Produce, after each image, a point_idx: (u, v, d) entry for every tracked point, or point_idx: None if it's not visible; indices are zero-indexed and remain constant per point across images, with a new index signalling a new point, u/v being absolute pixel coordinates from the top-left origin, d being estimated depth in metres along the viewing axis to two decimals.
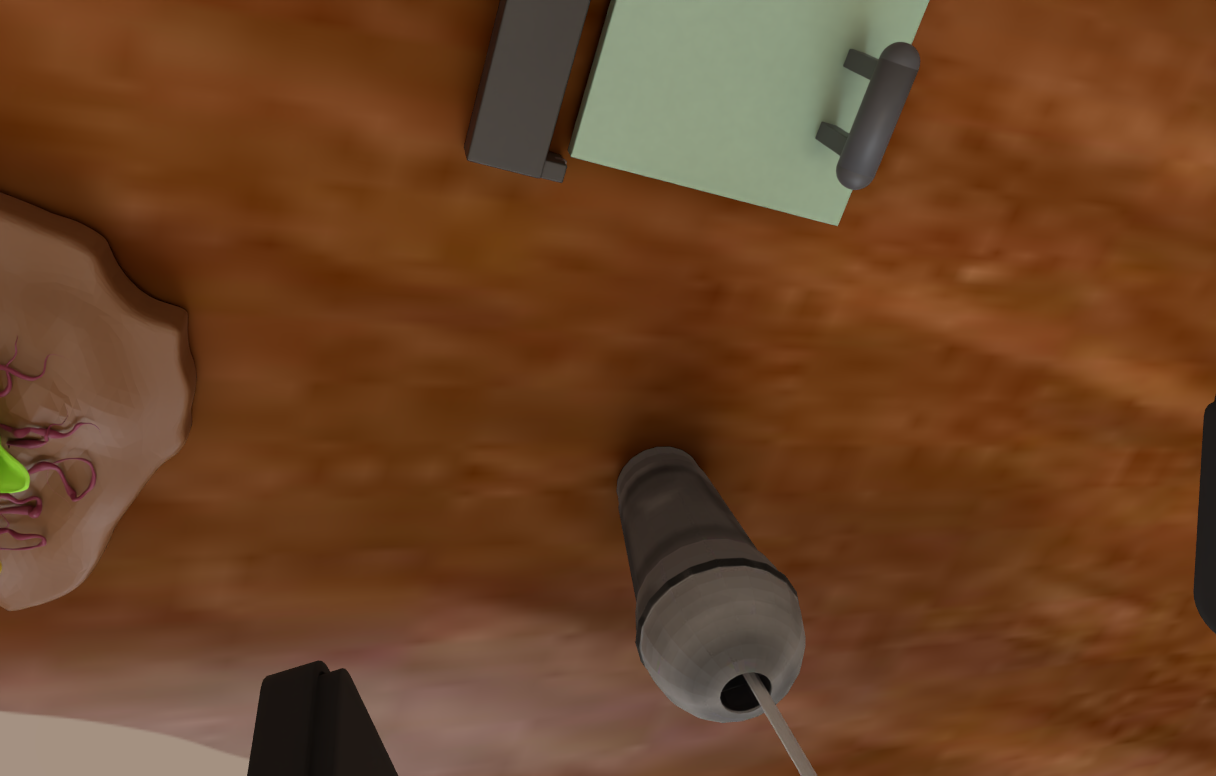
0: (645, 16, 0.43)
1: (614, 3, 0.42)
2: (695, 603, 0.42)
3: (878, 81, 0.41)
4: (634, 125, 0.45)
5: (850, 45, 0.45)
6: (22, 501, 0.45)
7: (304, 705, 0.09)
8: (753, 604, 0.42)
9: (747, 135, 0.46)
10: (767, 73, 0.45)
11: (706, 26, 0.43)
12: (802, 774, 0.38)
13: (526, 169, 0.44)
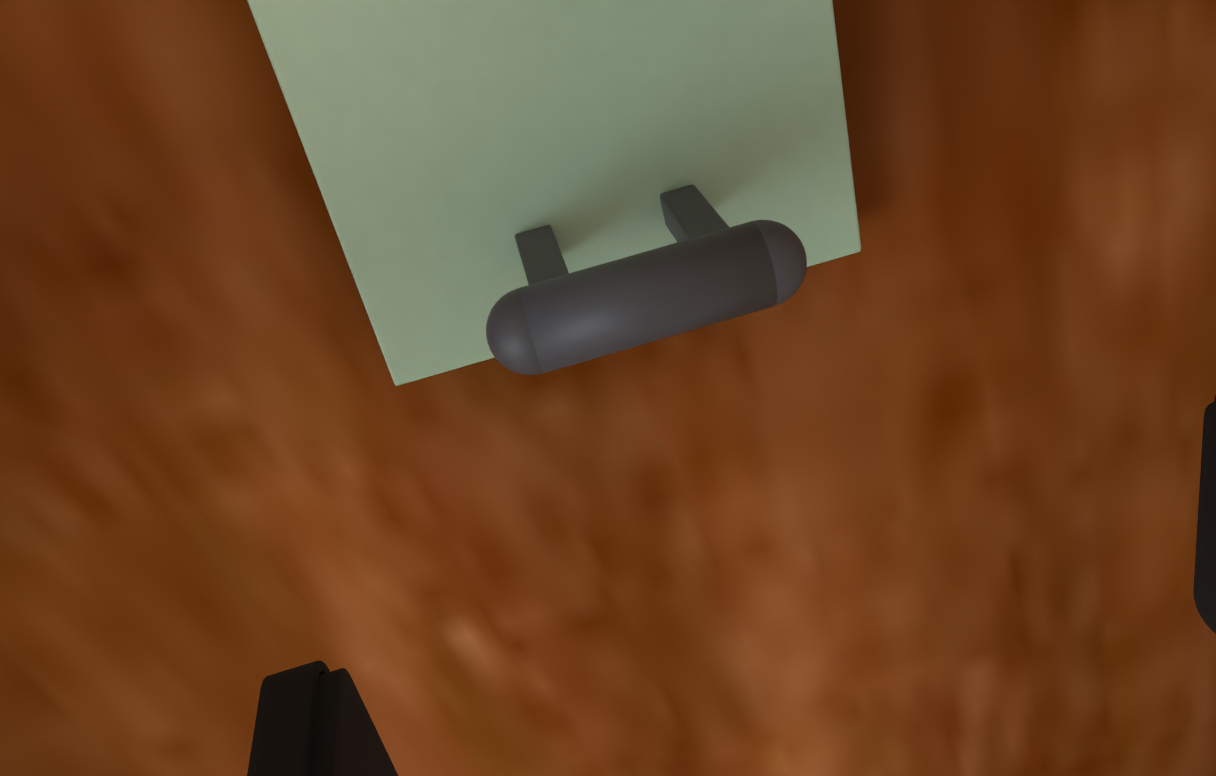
0: None
1: None
2: None
3: (716, 248, 0.18)
4: None
5: (699, 181, 0.22)
6: None
7: (304, 705, 0.09)
8: None
9: (441, 102, 0.21)
10: (571, 61, 0.21)
11: None
12: None
13: None
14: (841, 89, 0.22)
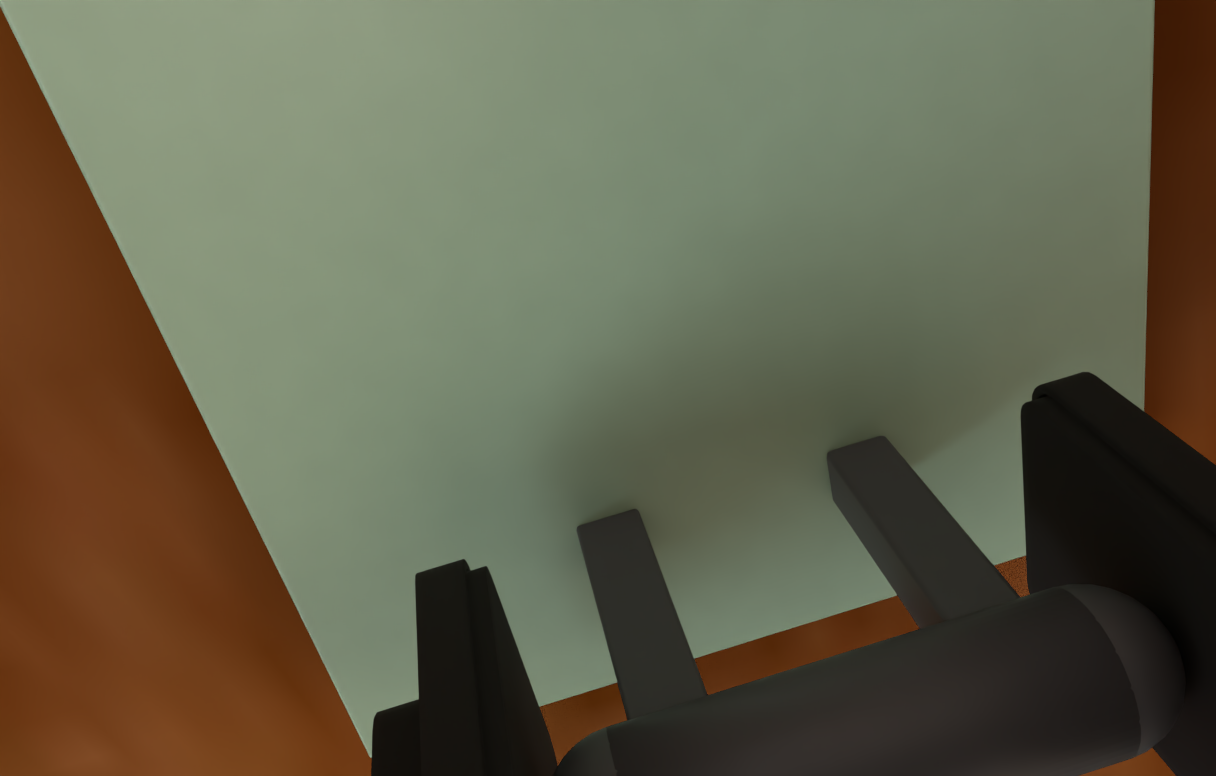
0: None
1: None
2: None
3: (1019, 671, 0.09)
4: None
5: (893, 430, 0.13)
6: None
7: (458, 594, 0.10)
8: None
9: (450, 321, 0.11)
10: (686, 245, 0.11)
11: None
12: None
13: None
14: (1145, 275, 0.13)
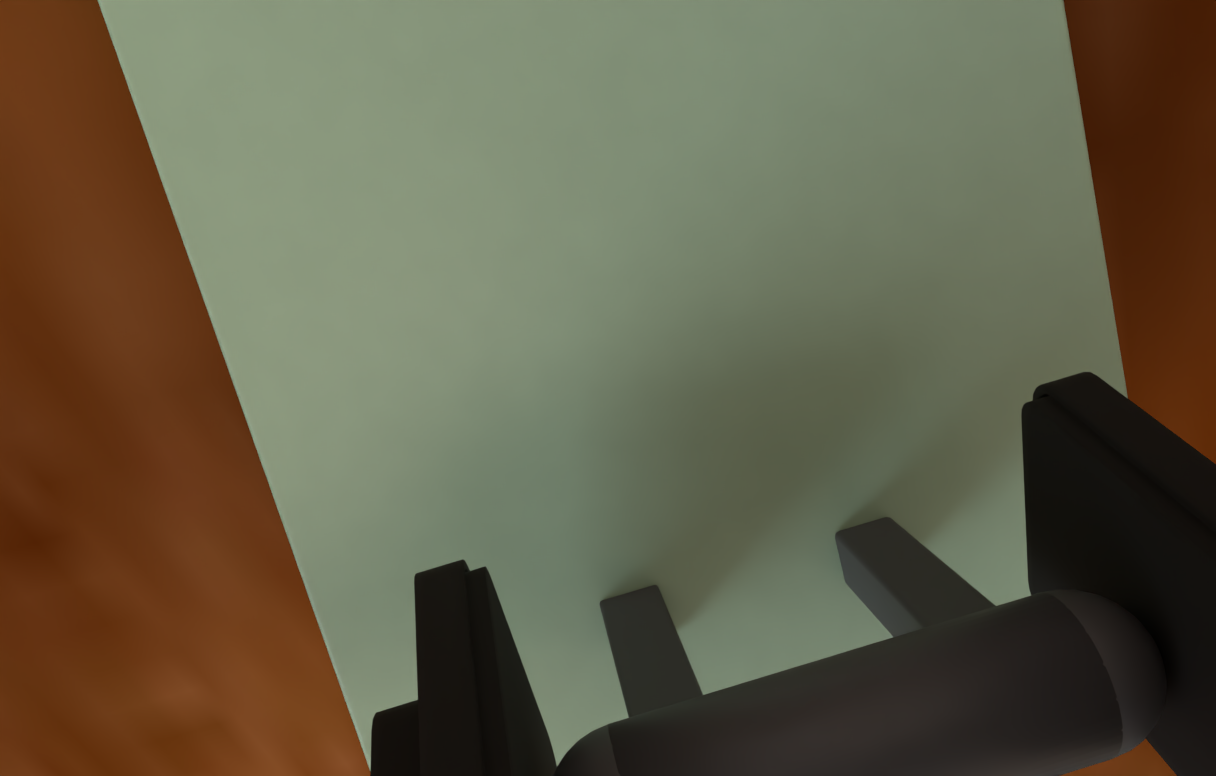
0: None
1: None
2: None
3: (993, 650, 0.09)
4: None
5: (897, 512, 0.14)
6: None
7: (458, 594, 0.10)
8: None
9: (484, 393, 0.13)
10: (691, 327, 0.13)
11: (712, 43, 0.12)
12: None
13: None
14: (1120, 364, 0.14)
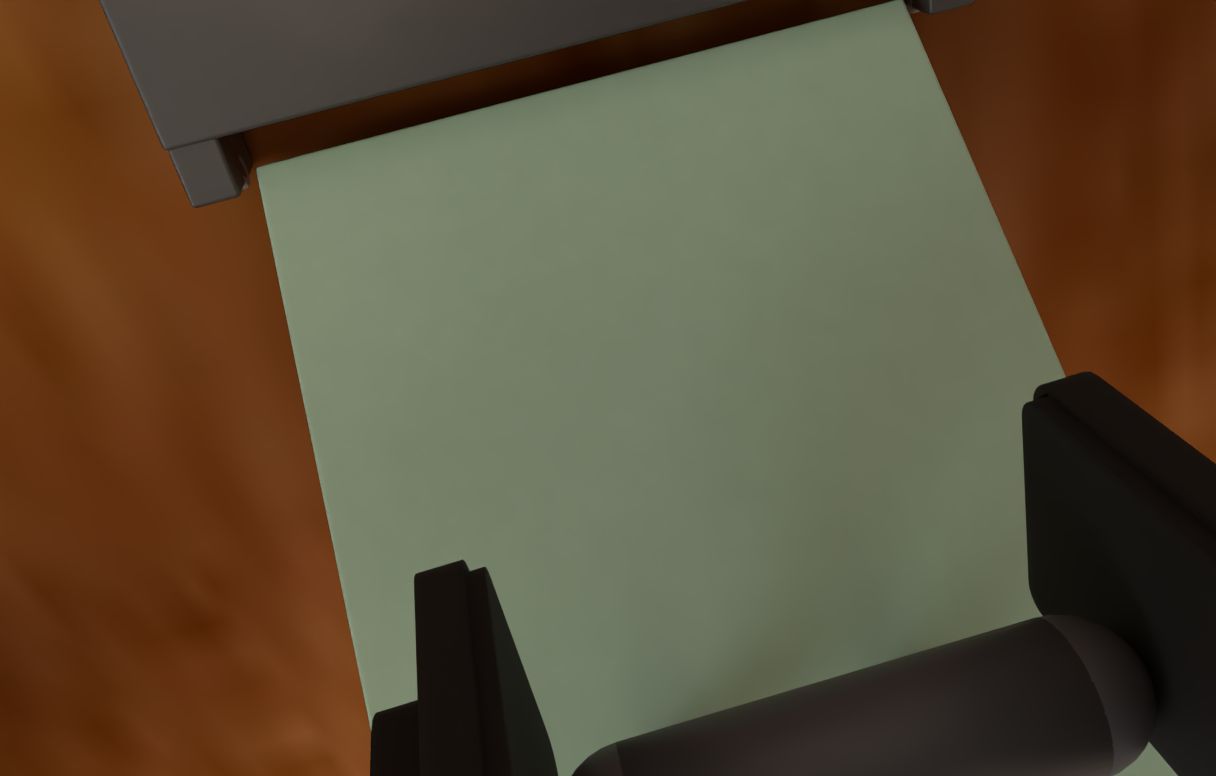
0: (654, 138, 0.17)
1: (638, 70, 0.17)
2: None
3: (969, 647, 0.10)
4: (404, 259, 0.16)
5: None
6: None
7: (458, 594, 0.10)
8: None
9: (540, 553, 0.15)
10: (719, 495, 0.15)
11: (723, 276, 0.16)
12: None
13: (161, 104, 0.16)
14: None
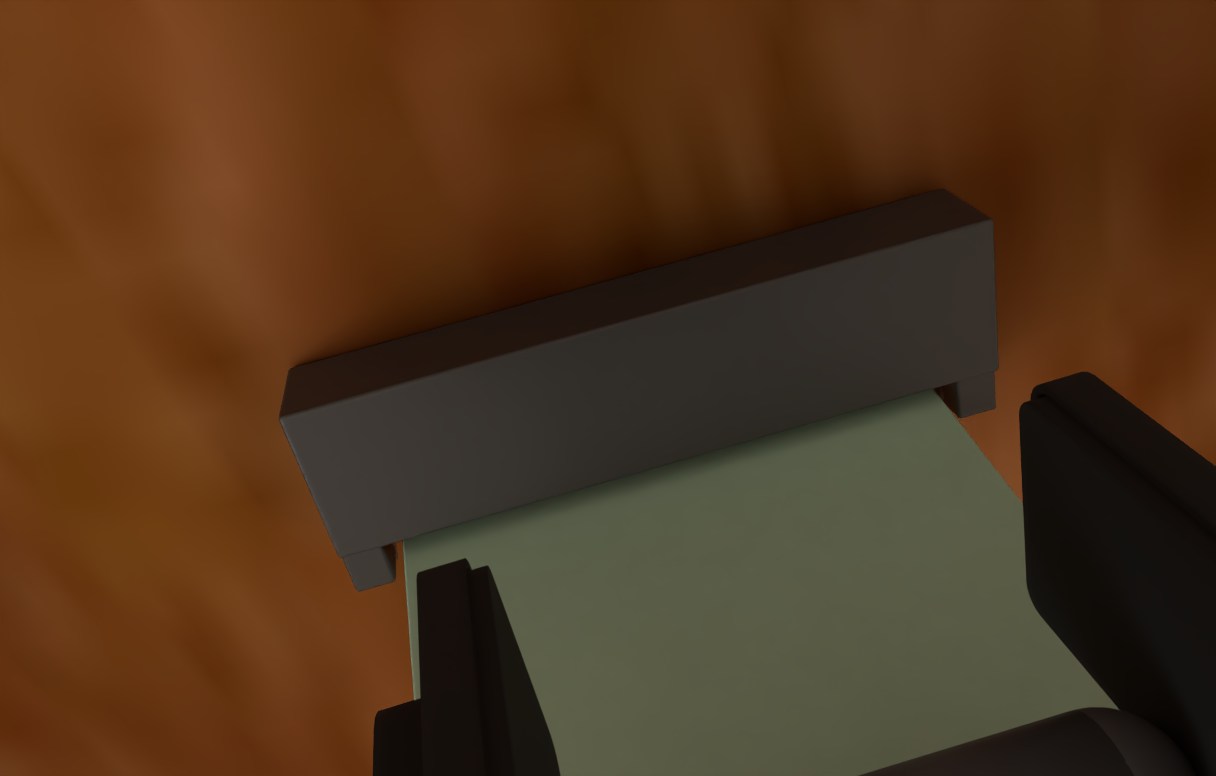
0: (728, 493, 0.20)
1: None
2: None
3: (990, 735, 0.10)
4: (514, 593, 0.19)
5: None
6: None
7: (460, 593, 0.10)
8: None
9: None
10: (798, 770, 0.15)
11: (792, 587, 0.18)
12: None
13: (340, 527, 0.19)
14: None
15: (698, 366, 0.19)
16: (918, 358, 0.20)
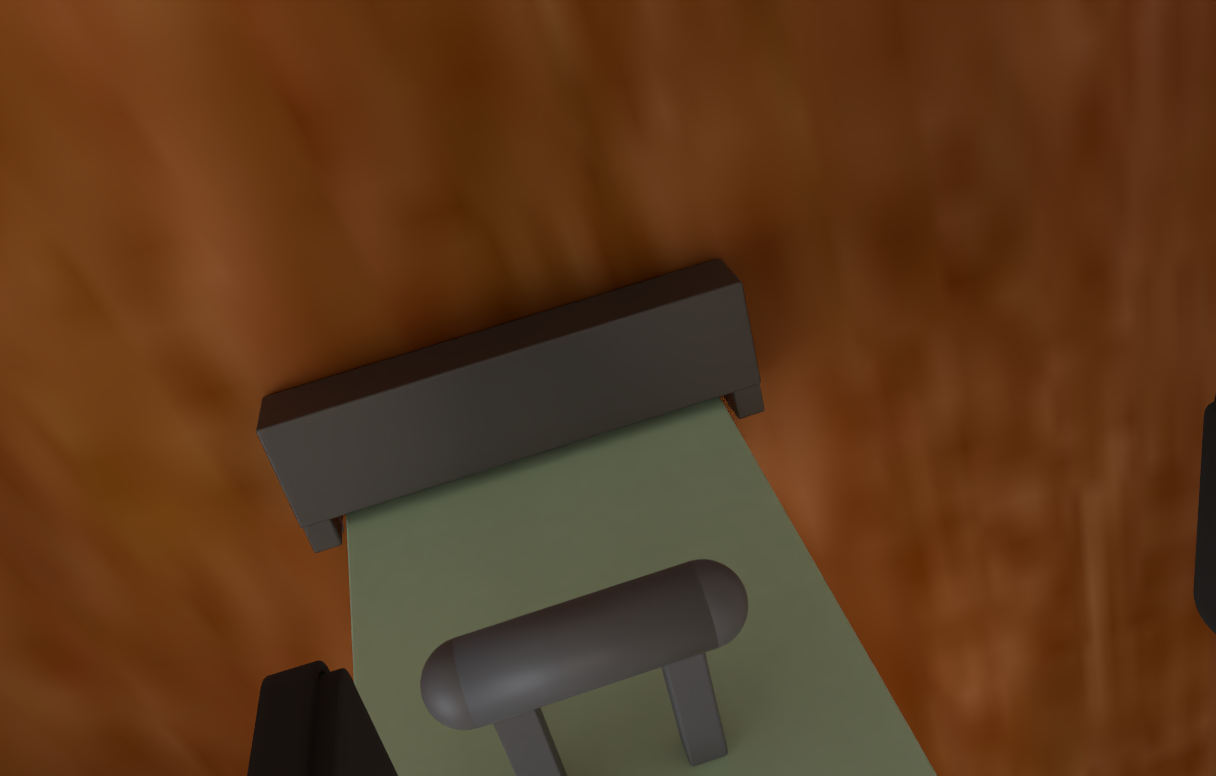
0: (571, 474, 0.29)
1: None
2: None
3: None
4: (420, 545, 0.27)
5: (721, 721, 0.21)
6: None
7: (304, 705, 0.09)
8: None
9: None
10: None
11: (604, 533, 0.26)
12: None
13: (300, 506, 0.28)
14: (853, 632, 0.23)
15: (544, 387, 0.28)
16: (701, 377, 0.29)
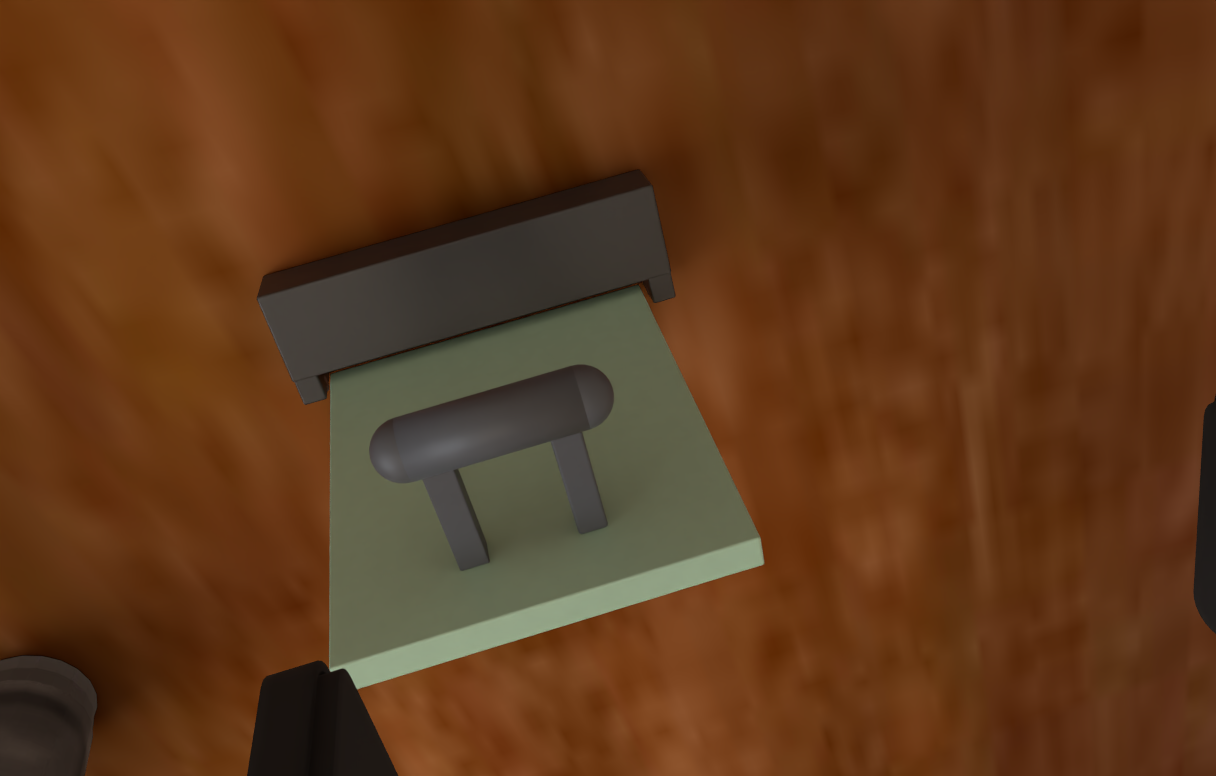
0: (513, 342, 0.35)
1: None
2: None
3: None
4: (388, 395, 0.34)
5: (606, 505, 0.28)
6: None
7: (304, 705, 0.09)
8: None
9: None
10: (515, 456, 0.30)
11: None
12: None
13: (292, 363, 0.35)
14: (714, 446, 0.29)
15: (491, 269, 0.34)
16: (620, 265, 0.35)
